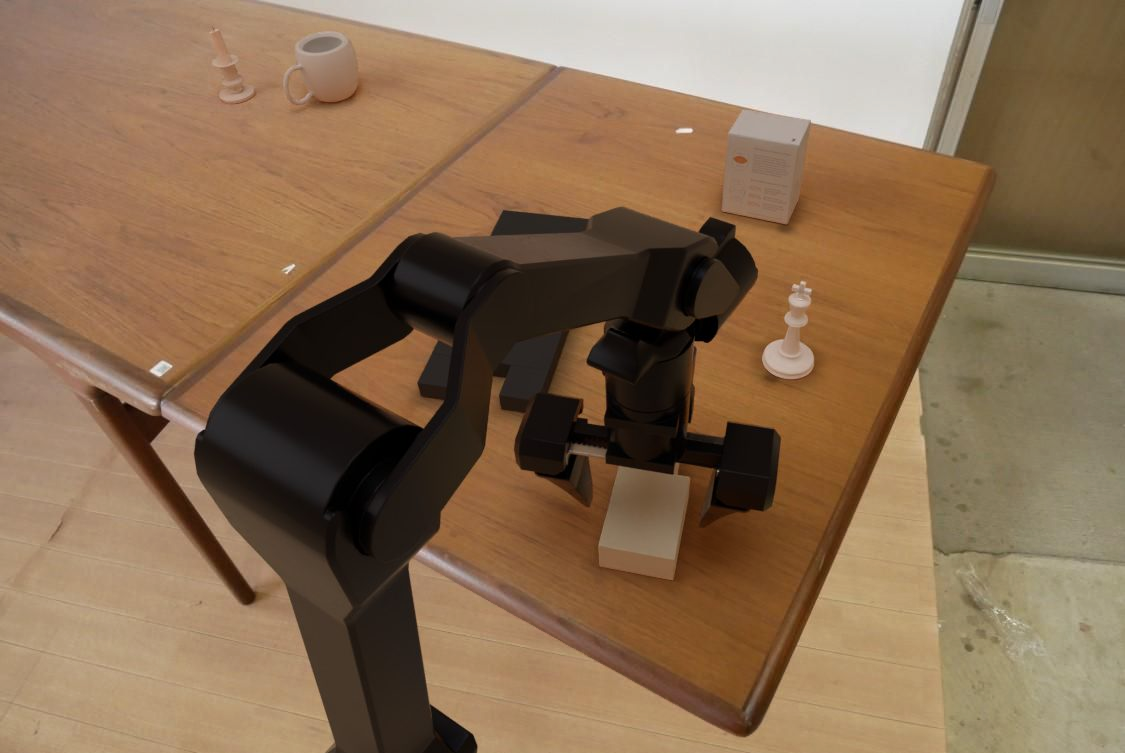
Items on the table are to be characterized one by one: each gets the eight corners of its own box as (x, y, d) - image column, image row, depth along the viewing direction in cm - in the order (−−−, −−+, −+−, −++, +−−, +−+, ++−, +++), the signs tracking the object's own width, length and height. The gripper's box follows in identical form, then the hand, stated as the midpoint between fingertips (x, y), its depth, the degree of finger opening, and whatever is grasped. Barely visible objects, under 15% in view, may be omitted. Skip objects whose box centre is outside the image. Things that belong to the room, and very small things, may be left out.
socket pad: (539, 415, 79) (537, 401, 78) (420, 396, 82) (416, 382, 80) (603, 234, 97) (603, 220, 96) (504, 223, 100) (502, 209, 98)
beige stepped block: (673, 581, 66) (674, 560, 64) (599, 566, 68) (598, 545, 65) (694, 466, 74) (696, 443, 72) (627, 455, 75) (627, 432, 73)
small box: (799, 199, 100) (813, 119, 92) (787, 226, 96) (801, 145, 89) (733, 186, 102) (742, 107, 94) (719, 212, 99) (727, 132, 91)
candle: (213, 97, 125) (186, 29, 118) (242, 83, 128) (217, 15, 120) (233, 107, 123) (207, 38, 115) (262, 92, 125) (239, 23, 118)
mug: (341, 73, 128) (327, 23, 122) (376, 90, 124) (363, 38, 118) (275, 106, 122) (257, 54, 117) (309, 125, 118) (293, 72, 112)
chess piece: (772, 337, 84) (786, 259, 77) (820, 353, 82) (839, 274, 75) (754, 369, 81) (766, 291, 74) (803, 386, 80) (821, 307, 72)
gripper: (799, 317, 59) (771, 453, 71) (545, 285, 63) (557, 419, 75) (787, 438, 52) (759, 567, 64) (501, 393, 56) (523, 523, 67)
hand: (644, 512), depth 67 cm, fingers open, 9 cm apart
